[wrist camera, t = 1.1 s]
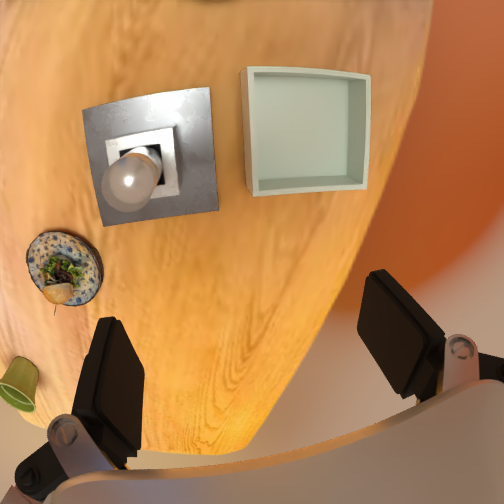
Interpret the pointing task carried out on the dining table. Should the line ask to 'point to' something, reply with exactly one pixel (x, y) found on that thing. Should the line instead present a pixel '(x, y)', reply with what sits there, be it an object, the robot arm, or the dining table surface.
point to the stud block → (158, 149)
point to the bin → (305, 129)
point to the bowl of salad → (64, 268)
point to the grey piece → (141, 168)
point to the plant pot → (20, 385)
